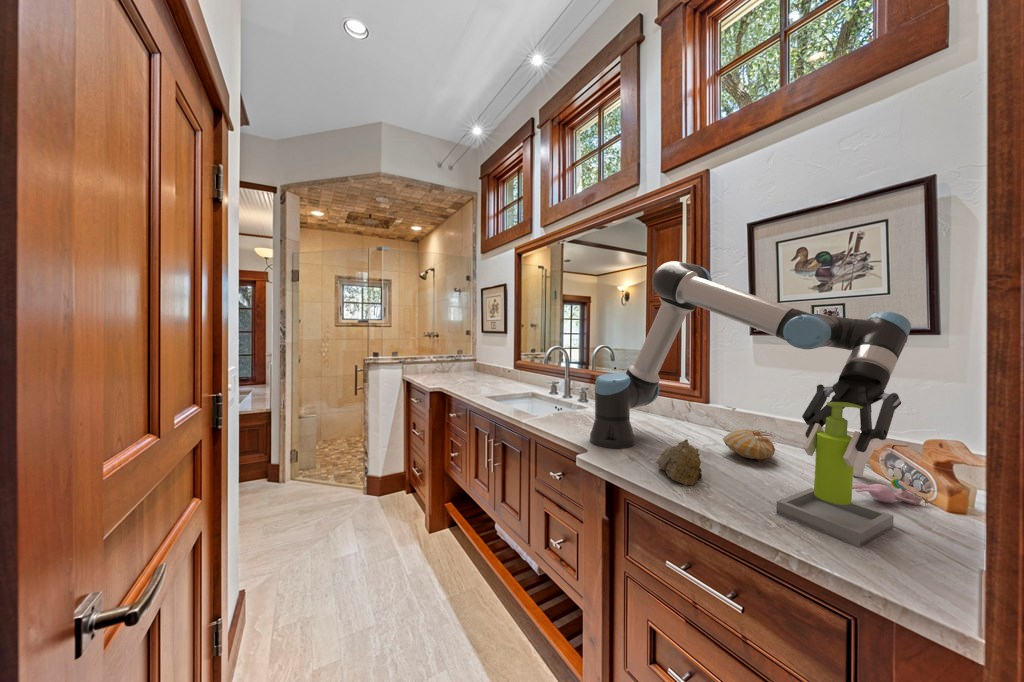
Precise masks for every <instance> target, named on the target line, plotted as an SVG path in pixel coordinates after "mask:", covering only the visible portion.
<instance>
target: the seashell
mask: <svg viewBox="0 0 1024 682" xmlns="http://www.w3.org/2000/svg"><path fill="white" fill-rule="evenodd" d="M688 441H689V439H688V438H686V439H684V440H682V441H681V442H678V443H677V444H676V445H673V446H672V445H670V446H669V447H667V448H665V449H664V450H663V451H662V452H661V453H660V457H658V459H656V464H658V467H659V469H660V470H662V471H664V472H666V474H667V478H671V480H672V481H676V482H678V483H681V484H683V485H685V486H686V485H687V486H695V484H698V482H700V481H701V480H702V477H703V476H702V475H703V474H702V468H701V463H702V462H701V459H700V453H699V449H698V448H695V447H694V446H693V445H691V444H690V443H689V442H688Z"/></svg>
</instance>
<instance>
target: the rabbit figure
mask: <svg viewBox="0 0 1024 682" xmlns="http://www.w3.org/2000/svg"><path fill="white" fill-rule="evenodd" d="M900 480H901V479H899V478H893V479H891V481H890V485H891V486H892V487H894V488H895V489H899V490H897V492H894V491H893V490H892V489H891V488H890V487H889V486H887V485H886V484H880V483H873V484H869V485H868V484H865V483H864V484H863V483H853V484H852V490H855V492H857V493H860V492H861V493H862V492H868V493H869V495H870V496H871V497H872V498H874V499H875V500H878V501H880V502H881V503H885V504H888V503H893V504H894V503H895V502H896V501H897V502H904V503H906V504H910V505H913V506H919V505H920V504H921V502H922V501H923V500H924V502H923V503H924V504H925V506H926V505H928V506H929V502H928V498H929V497H926V498H925V497H924V496H917V492H915V493H914V492H913V491H910V490H907V489H906V488H905V486H903V484H901V483H899V481H900Z"/></svg>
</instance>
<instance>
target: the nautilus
mask: <svg viewBox="0 0 1024 682" xmlns="http://www.w3.org/2000/svg"><path fill="white" fill-rule="evenodd" d="M763 433H764V434H763ZM768 437H772V438H773V437H776V438H777V436H776V435H774V434H771V433H769V432H767V430H766V431H761V430H760V429H758V430H757V429H756V430H754V429H749V428H744V429H733V430H732V431H731V432H729V433H727V434H726V435H725V436H724V437H722V441H723V442H724V444H725V446H727V448H729V450H731V451H732V452H734V453H736V454H738V455H739V456H741V457H743V458H748V459H752V460H757V461H761V460H764V459H769V458H772V457H773V456H774V454H775V451H776V448H775V446H774V444H776V445H777V443H775V442H773V441H771V440H770V439H768Z"/></svg>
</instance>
